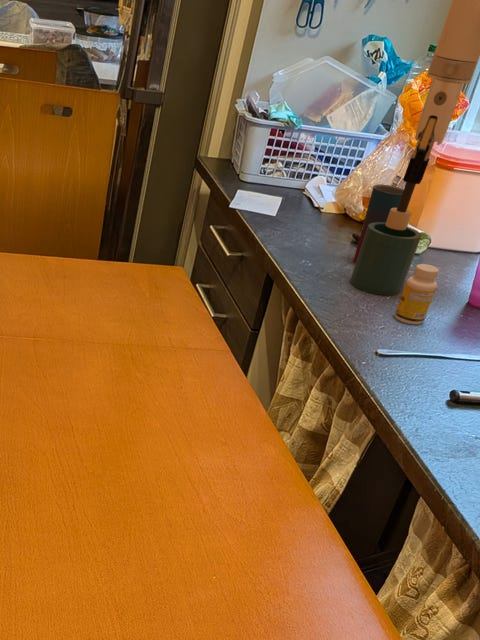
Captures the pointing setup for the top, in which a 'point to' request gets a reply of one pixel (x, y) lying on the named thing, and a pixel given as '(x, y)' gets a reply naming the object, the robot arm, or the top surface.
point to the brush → (401, 210)
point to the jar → (384, 259)
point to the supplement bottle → (417, 295)
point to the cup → (379, 208)
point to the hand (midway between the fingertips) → (412, 180)
